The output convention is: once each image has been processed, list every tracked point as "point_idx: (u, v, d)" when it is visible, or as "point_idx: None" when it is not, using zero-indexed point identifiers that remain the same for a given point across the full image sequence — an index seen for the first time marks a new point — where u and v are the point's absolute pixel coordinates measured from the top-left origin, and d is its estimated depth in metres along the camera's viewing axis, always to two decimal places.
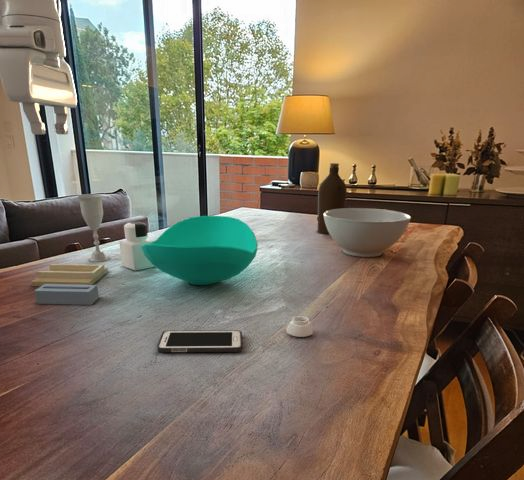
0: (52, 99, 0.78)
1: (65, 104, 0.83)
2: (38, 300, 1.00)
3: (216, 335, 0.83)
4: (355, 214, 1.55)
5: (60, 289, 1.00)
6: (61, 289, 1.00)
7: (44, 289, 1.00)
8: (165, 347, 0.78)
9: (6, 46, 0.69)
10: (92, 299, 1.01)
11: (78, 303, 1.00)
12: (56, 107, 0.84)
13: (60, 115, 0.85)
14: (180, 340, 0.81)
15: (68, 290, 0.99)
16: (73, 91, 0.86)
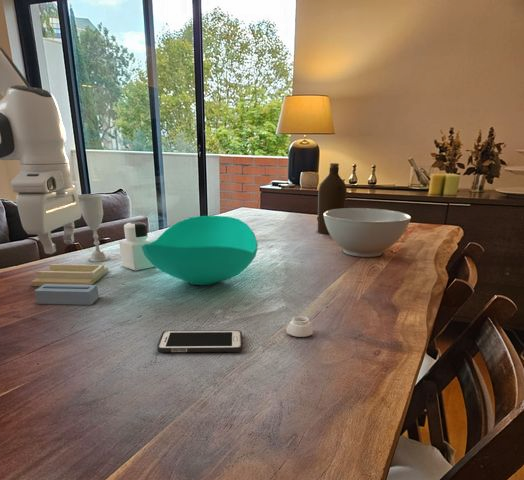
0: (61, 222, 0.94)
1: (72, 220, 0.99)
2: (38, 300, 1.00)
3: (216, 335, 0.83)
4: (355, 214, 1.55)
5: (60, 289, 1.00)
6: (61, 289, 1.00)
7: (44, 289, 1.00)
8: (165, 347, 0.78)
9: (24, 192, 0.85)
10: (92, 299, 1.01)
11: (78, 303, 1.00)
12: None
13: (67, 227, 1.01)
14: (180, 340, 0.81)
15: (68, 290, 0.99)
16: (78, 206, 1.02)
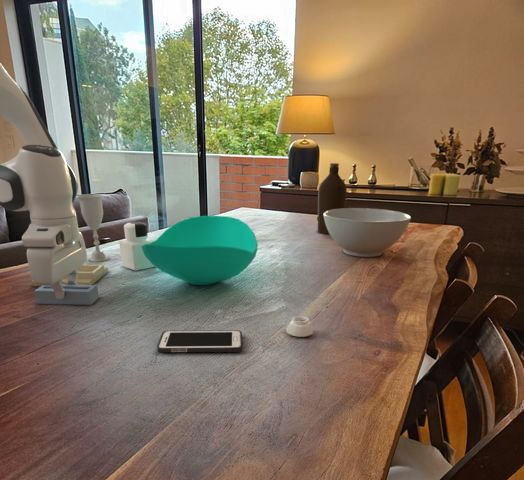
0: (69, 270, 0.98)
1: (78, 266, 1.03)
2: (38, 300, 1.00)
3: (216, 335, 0.83)
4: (355, 214, 1.55)
5: None
6: None
7: (44, 289, 1.00)
8: (165, 347, 0.78)
9: (34, 247, 0.89)
10: (92, 299, 1.01)
11: (78, 303, 1.00)
12: None
13: (71, 274, 1.04)
14: (180, 340, 0.81)
15: (68, 290, 0.99)
16: (84, 251, 1.06)
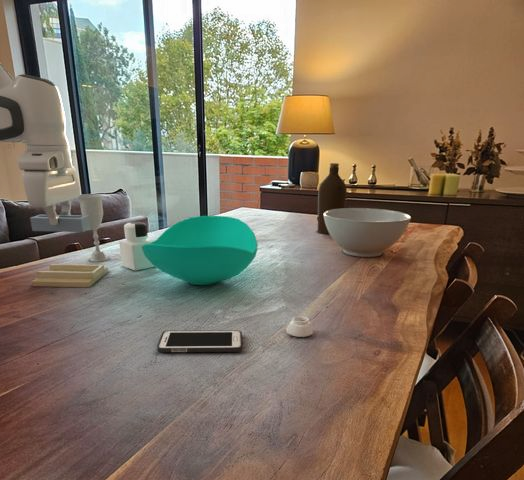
0: (62, 198, 1.05)
1: (71, 198, 1.10)
2: (33, 227, 1.07)
3: (216, 335, 0.83)
4: (355, 214, 1.55)
5: None
6: None
7: (39, 217, 1.07)
8: (165, 347, 0.78)
9: (29, 170, 0.96)
10: (84, 227, 1.07)
11: (71, 230, 1.07)
12: None
13: (65, 205, 1.11)
14: (180, 340, 0.81)
15: (61, 218, 1.06)
16: (77, 185, 1.13)
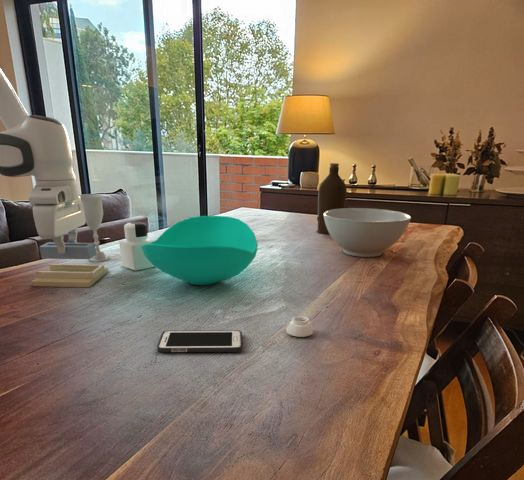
0: (69, 228, 1.11)
1: (77, 226, 1.16)
2: (42, 255, 1.13)
3: (216, 335, 0.83)
4: (355, 214, 1.55)
5: None
6: None
7: (48, 245, 1.13)
8: (165, 347, 0.78)
9: (39, 204, 1.02)
10: (90, 255, 1.14)
11: (78, 258, 1.13)
12: None
13: (71, 233, 1.17)
14: (180, 340, 0.81)
15: (69, 246, 1.12)
16: (83, 214, 1.19)
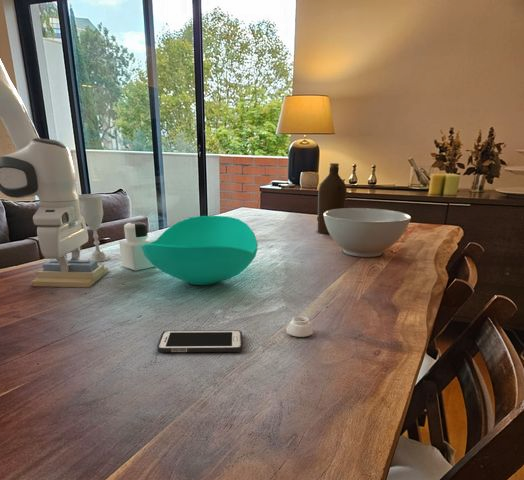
0: (72, 247, 1.13)
1: (80, 245, 1.18)
2: None
3: (216, 335, 0.83)
4: (355, 214, 1.55)
5: None
6: None
7: (51, 263, 1.15)
8: (165, 347, 0.78)
9: (43, 225, 1.04)
10: None
11: None
12: None
13: (74, 251, 1.19)
14: (180, 340, 0.81)
15: (72, 264, 1.14)
16: (86, 232, 1.21)
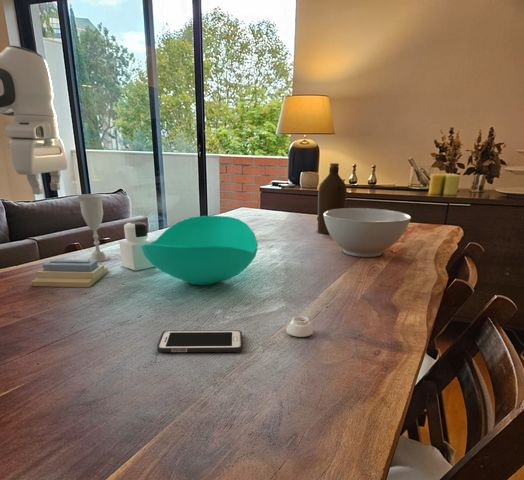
0: (48, 168, 1.09)
1: (58, 169, 1.14)
2: None
3: (216, 335, 0.83)
4: (355, 214, 1.55)
5: (65, 263, 1.15)
6: (66, 263, 1.15)
7: (51, 263, 1.15)
8: (165, 347, 0.78)
9: (16, 137, 1.00)
10: None
11: None
12: None
13: (54, 176, 1.16)
14: (180, 340, 0.81)
15: (72, 264, 1.14)
16: (64, 158, 1.17)
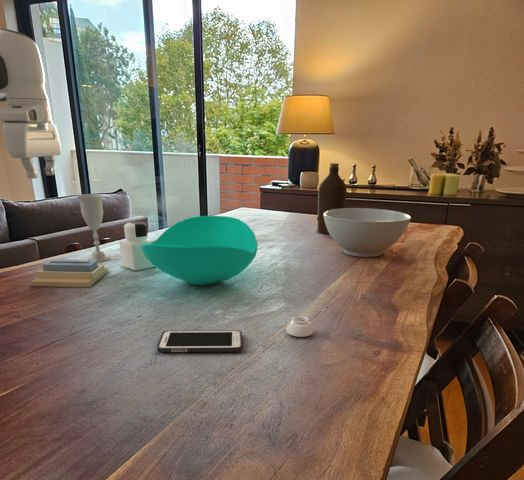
0: (42, 152, 1.09)
1: (52, 154, 1.14)
2: None
3: (216, 335, 0.83)
4: (355, 214, 1.55)
5: (65, 263, 1.15)
6: (66, 263, 1.15)
7: (51, 263, 1.15)
8: (165, 347, 0.78)
9: (9, 121, 1.00)
10: None
11: None
12: (45, 156, 1.16)
13: (48, 161, 1.17)
14: (180, 340, 0.81)
15: (72, 264, 1.14)
16: (58, 143, 1.17)
